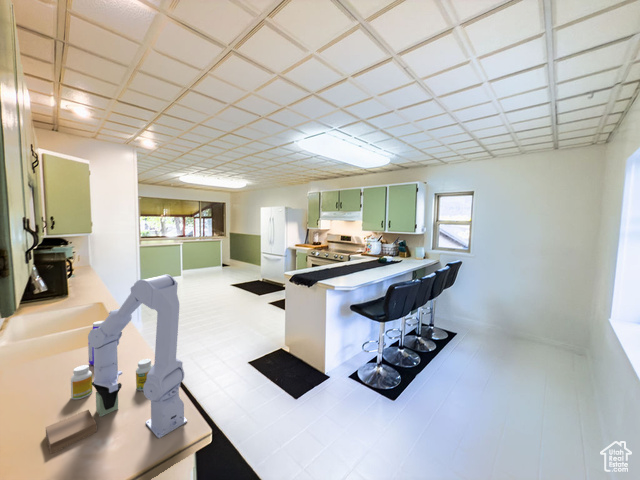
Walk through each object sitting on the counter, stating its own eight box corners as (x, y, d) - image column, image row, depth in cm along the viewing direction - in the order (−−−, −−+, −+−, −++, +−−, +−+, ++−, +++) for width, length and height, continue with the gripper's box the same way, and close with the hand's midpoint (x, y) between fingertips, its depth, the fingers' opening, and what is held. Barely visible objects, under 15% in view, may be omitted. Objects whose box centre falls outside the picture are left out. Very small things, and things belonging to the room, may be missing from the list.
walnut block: (96, 433, 73) (96, 423, 73) (50, 455, 66) (50, 444, 65) (88, 418, 78) (88, 409, 78) (45, 437, 71) (45, 427, 71)
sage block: (118, 408, 82) (117, 390, 82) (100, 416, 78) (99, 398, 78) (113, 402, 85) (113, 385, 84) (96, 410, 81) (95, 392, 81)
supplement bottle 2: (153, 380, 97) (153, 356, 97) (154, 388, 93) (153, 362, 92) (136, 385, 94) (136, 360, 94) (135, 393, 90) (135, 366, 89)
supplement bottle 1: (95, 392, 90) (95, 365, 89) (76, 401, 85) (75, 373, 85) (87, 388, 92) (87, 362, 92) (68, 397, 87) (67, 369, 87)
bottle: (102, 357, 114) (101, 318, 113) (113, 358, 113) (112, 319, 113) (85, 365, 107) (84, 324, 106) (97, 366, 106) (96, 325, 105)
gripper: (129, 365, 80) (130, 407, 80) (114, 351, 88) (115, 389, 89) (100, 375, 74) (101, 420, 75) (87, 359, 83) (88, 400, 83)
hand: (107, 404), depth 81 cm, fingers closed on sage block, 4 cm apart
